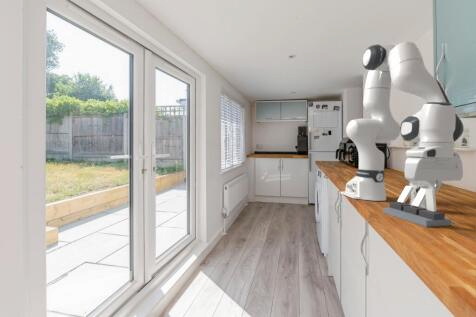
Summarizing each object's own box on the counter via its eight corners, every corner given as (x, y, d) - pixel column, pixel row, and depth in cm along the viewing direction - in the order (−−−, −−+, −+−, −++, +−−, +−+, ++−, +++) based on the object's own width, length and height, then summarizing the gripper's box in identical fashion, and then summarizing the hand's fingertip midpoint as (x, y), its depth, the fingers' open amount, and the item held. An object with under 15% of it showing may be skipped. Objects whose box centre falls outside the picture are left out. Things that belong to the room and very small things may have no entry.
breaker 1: (397, 201, 94) (406, 185, 95) (398, 202, 94) (407, 186, 95) (402, 202, 92) (411, 186, 92) (404, 203, 92) (413, 187, 93)
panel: (383, 212, 95) (383, 202, 94) (404, 211, 97) (405, 201, 97) (426, 226, 78) (426, 214, 78) (451, 225, 80) (451, 213, 80)
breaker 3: (426, 209, 82) (425, 189, 82) (429, 209, 83) (427, 188, 82) (434, 211, 80) (432, 190, 80) (436, 211, 80) (434, 189, 80)
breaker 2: (411, 204, 88) (420, 188, 89) (413, 206, 89) (422, 189, 89) (417, 206, 86) (427, 189, 87) (419, 207, 86) (429, 190, 87)
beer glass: (403, 207, 104) (405, 171, 104) (413, 206, 107) (415, 171, 106) (421, 211, 98) (423, 173, 97) (431, 210, 101) (434, 173, 100)
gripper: (449, 152, 86) (447, 192, 87) (401, 151, 81) (399, 193, 82) (470, 152, 80) (467, 195, 81) (420, 151, 75) (417, 197, 76)
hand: (432, 194), depth 81 cm, fingers closed, pressing on breaker 3
